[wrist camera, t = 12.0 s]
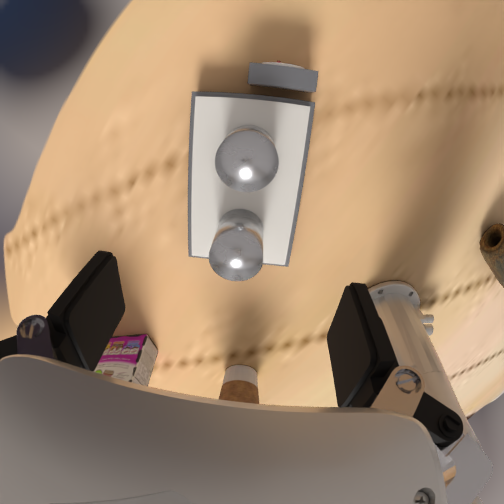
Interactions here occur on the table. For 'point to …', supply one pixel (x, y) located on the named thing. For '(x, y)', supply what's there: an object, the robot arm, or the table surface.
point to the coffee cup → (240, 385)
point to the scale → (286, 143)
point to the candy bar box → (129, 359)
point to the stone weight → (494, 250)
